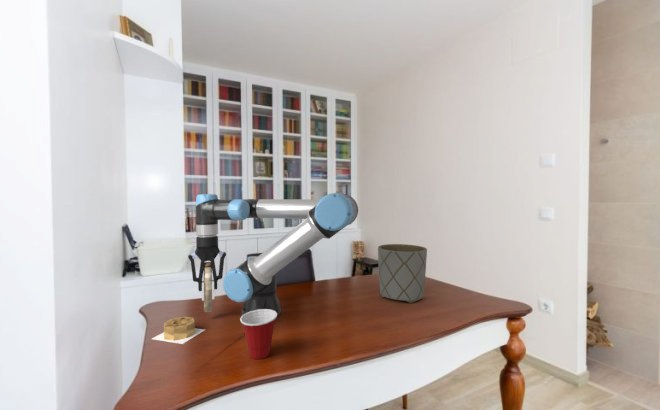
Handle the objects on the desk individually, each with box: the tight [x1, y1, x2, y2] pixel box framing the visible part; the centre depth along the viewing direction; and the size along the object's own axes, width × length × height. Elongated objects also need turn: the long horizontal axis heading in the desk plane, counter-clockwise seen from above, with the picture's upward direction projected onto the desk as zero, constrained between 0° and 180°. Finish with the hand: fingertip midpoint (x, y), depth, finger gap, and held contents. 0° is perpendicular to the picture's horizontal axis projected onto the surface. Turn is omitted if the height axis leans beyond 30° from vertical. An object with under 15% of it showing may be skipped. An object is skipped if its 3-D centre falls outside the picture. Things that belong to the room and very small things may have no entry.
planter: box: [377, 243, 428, 304], centre depth 150 cm, size 23×23×24 cm
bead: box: [163, 316, 196, 341], centre depth 105 cm, size 9×9×4 cm
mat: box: [151, 327, 205, 345], centre depth 105 cm, size 12×11×1 cm
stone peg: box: [203, 261, 213, 313], centre depth 117 cm, size 3×3×18 cm
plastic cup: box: [239, 309, 278, 360], centre depth 93 cm, size 11×11×12 cm
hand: (208, 298), depth 117 cm, fingers closed on stone peg, 3 cm apart
